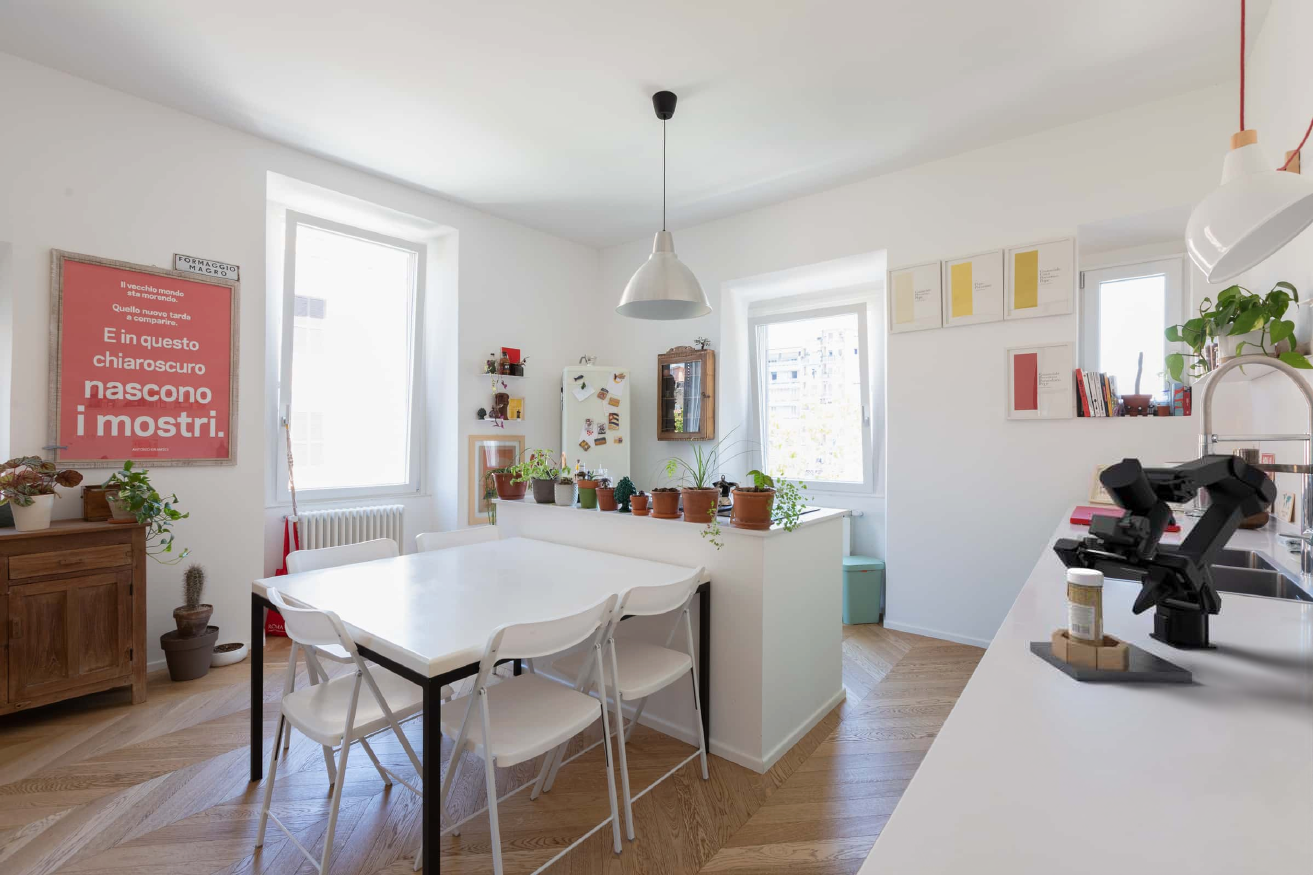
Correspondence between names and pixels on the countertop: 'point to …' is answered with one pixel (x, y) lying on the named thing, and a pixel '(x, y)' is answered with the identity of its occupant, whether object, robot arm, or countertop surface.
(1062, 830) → the countertop surface
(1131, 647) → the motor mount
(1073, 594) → the sprinkles bottle
